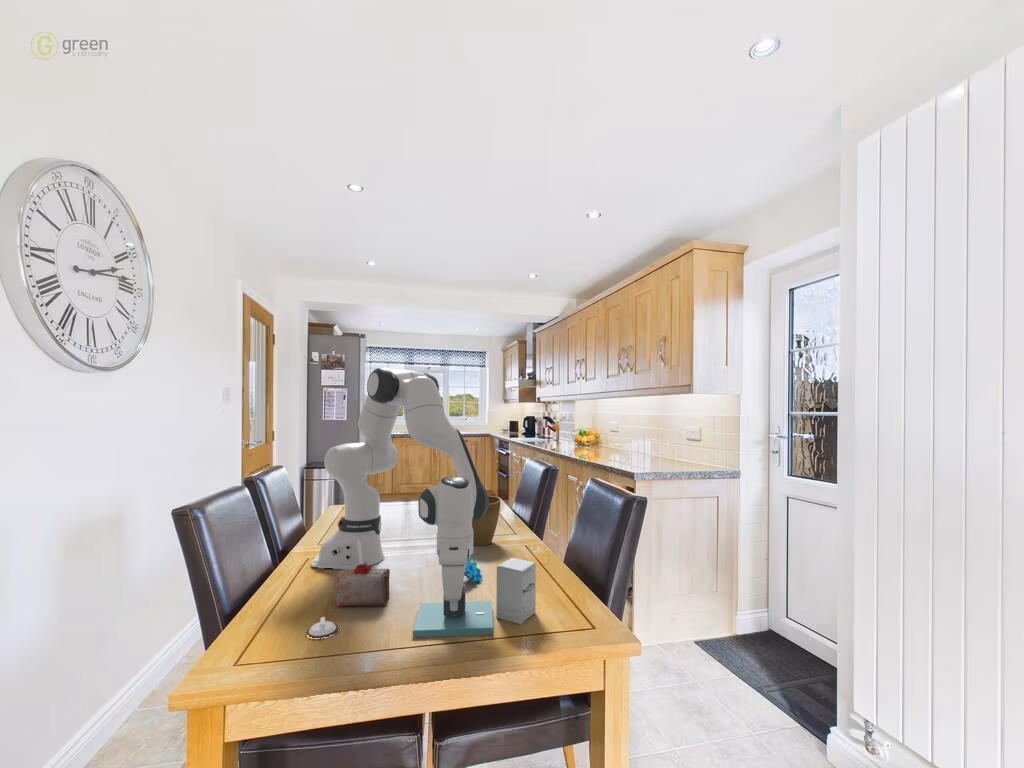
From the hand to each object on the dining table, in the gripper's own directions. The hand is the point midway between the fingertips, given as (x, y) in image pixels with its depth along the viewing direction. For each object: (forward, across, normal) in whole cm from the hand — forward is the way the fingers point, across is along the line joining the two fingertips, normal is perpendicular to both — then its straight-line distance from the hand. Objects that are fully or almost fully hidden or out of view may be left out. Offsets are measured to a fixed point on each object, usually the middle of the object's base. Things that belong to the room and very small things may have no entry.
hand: (454, 603), depth 112 cm
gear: (+4, -25, +3) cm, 26 cm away
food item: (+4, -12, -25) cm, 28 cm away
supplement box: (+4, -2, +15) cm, 16 cm away
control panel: (+4, 0, 0) cm, 4 cm away
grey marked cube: (+2, 0, 0) cm, 2 cm away
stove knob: (+5, +3, -30) cm, 31 cm away
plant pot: (+4, -60, +6) cm, 61 cm away
